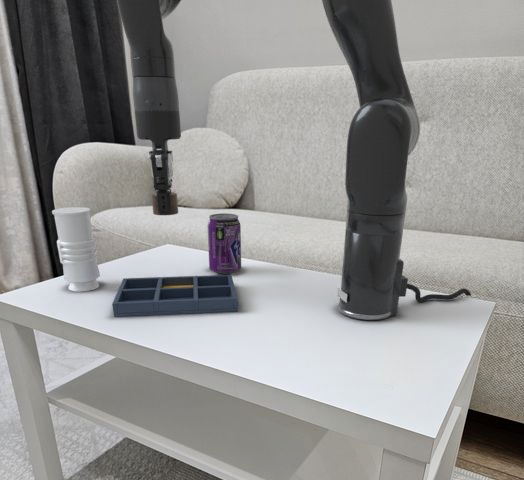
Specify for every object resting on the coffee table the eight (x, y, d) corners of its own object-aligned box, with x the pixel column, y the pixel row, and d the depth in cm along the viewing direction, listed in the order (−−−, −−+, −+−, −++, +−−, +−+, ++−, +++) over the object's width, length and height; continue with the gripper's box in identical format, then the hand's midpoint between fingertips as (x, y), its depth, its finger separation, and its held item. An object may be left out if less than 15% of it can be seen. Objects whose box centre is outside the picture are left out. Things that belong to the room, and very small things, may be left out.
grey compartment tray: (231, 286, 96) (231, 274, 95) (237, 311, 83) (237, 298, 82) (124, 290, 94) (123, 278, 93) (113, 316, 81) (112, 303, 80)
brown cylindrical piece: (178, 210, 91) (177, 191, 89) (177, 215, 86) (176, 195, 85) (154, 211, 90) (152, 192, 89) (152, 215, 86) (150, 195, 84)
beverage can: (226, 277, 102) (225, 220, 96) (202, 271, 105) (200, 216, 100) (247, 270, 107) (247, 215, 101) (224, 264, 110) (222, 211, 105)
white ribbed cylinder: (61, 285, 96) (46, 209, 89) (95, 279, 100) (83, 206, 93) (71, 294, 91) (57, 214, 84) (106, 288, 95) (95, 210, 88)
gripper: (177, 107, 75) (185, 218, 82) (180, 110, 88) (186, 205, 95) (129, 107, 74) (141, 219, 81) (138, 110, 87) (148, 206, 94)
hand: (165, 211), depth 88 cm, fingers closed on brown cylindrical piece, 4 cm apart
